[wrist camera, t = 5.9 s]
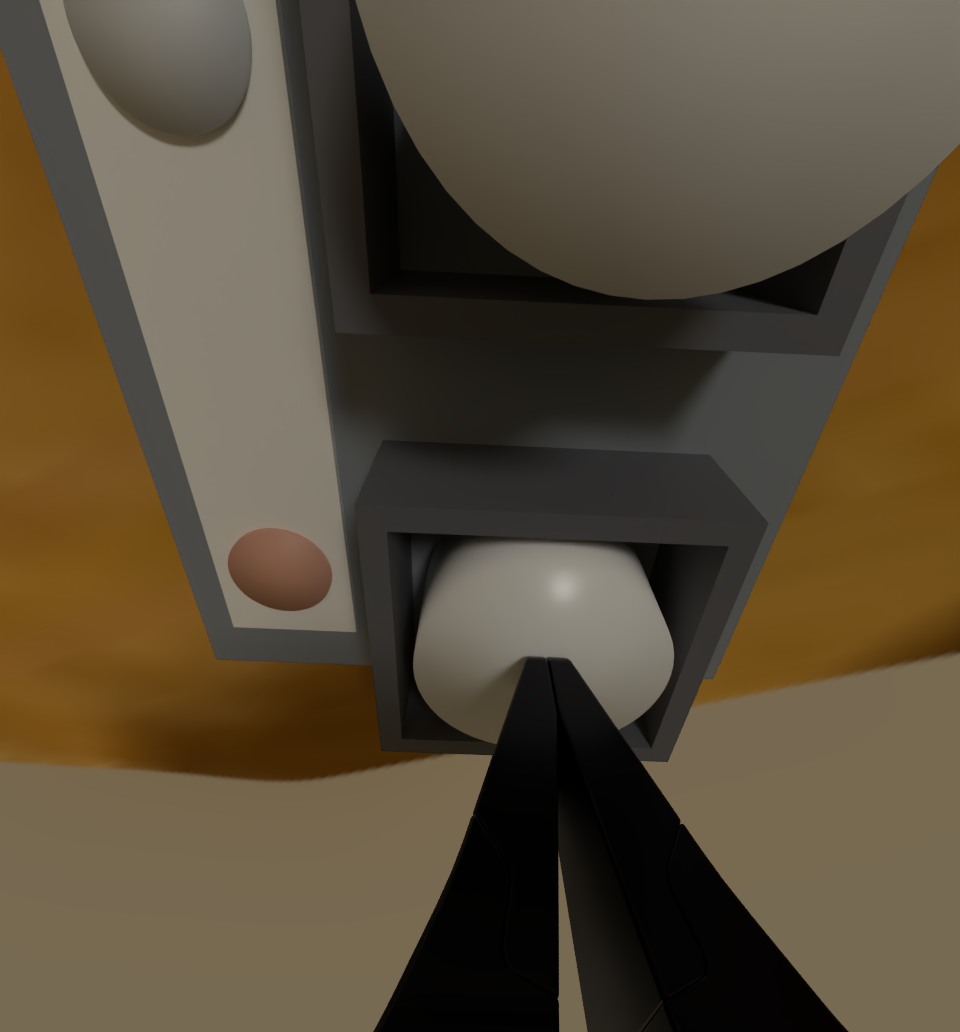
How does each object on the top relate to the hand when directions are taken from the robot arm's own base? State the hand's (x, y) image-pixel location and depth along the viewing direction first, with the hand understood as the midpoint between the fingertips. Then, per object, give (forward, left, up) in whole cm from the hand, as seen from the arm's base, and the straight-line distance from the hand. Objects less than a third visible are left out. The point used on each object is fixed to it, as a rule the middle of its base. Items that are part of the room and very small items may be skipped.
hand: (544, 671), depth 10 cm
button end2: (0, 0, -2) cm, 2 cm away
